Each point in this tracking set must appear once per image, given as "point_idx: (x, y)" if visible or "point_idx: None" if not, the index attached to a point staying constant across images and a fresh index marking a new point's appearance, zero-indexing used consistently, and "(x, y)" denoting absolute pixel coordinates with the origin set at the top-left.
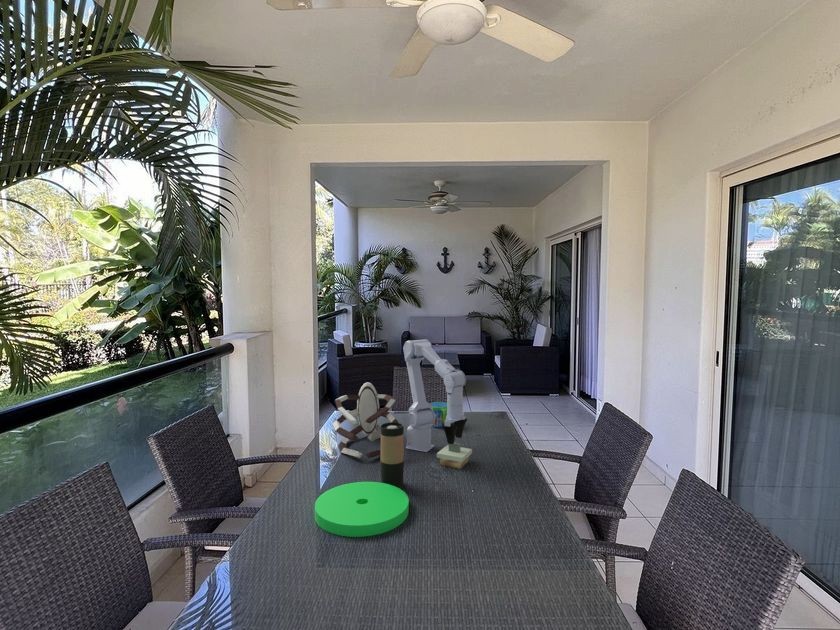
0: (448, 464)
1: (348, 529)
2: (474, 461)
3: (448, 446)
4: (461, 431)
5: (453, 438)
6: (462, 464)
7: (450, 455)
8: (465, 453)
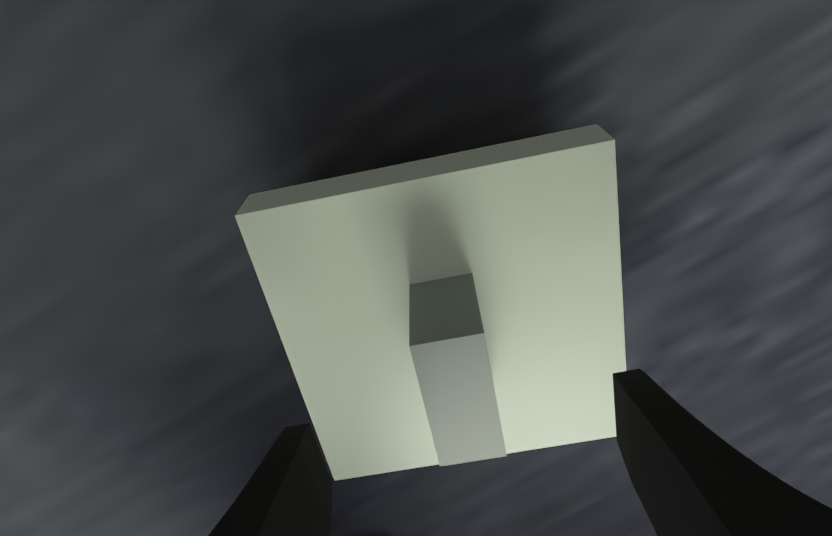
0: None
1: None
2: (257, 134)
3: (370, 451)
4: (279, 506)
5: (704, 426)
6: None
7: (614, 296)
8: (440, 193)
